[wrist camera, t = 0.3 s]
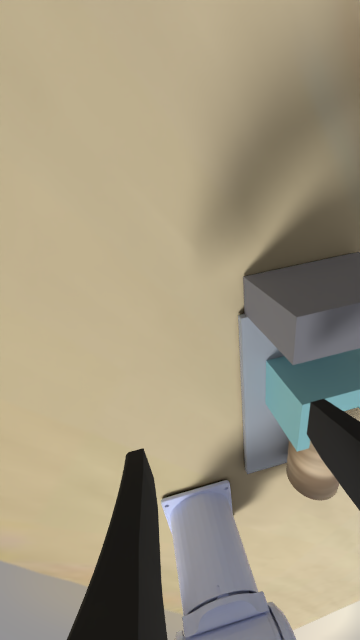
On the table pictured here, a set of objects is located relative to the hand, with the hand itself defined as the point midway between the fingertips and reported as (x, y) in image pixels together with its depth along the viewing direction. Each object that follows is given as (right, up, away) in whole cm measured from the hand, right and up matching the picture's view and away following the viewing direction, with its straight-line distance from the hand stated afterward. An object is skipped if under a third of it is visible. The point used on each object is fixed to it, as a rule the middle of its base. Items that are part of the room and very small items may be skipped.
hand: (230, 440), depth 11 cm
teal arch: (+9, 0, +12) cm, 15 cm away
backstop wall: (+7, +8, +9) cm, 14 cm away
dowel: (+10, -7, +16) cm, 20 cm away
